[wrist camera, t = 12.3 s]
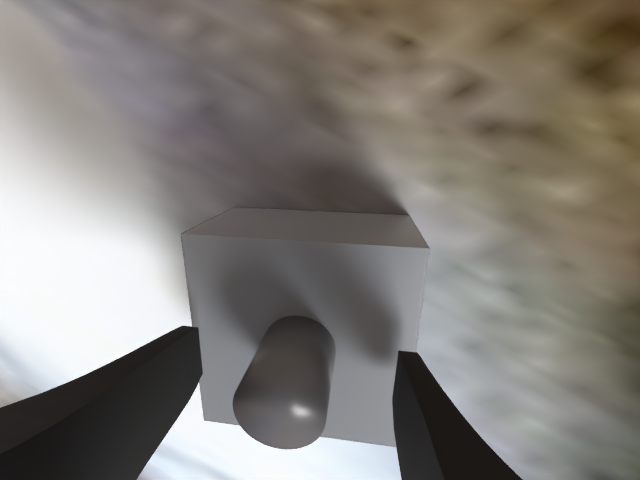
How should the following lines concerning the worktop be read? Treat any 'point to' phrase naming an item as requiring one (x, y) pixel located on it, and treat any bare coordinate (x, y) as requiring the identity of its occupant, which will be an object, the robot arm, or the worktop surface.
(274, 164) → the worktop surface
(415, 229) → the grey block
